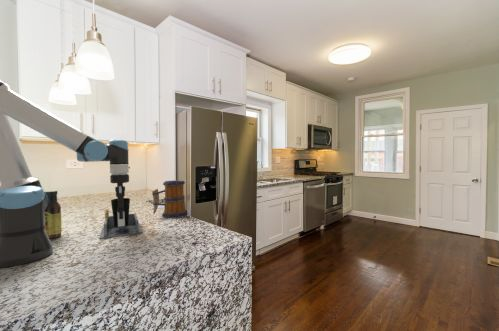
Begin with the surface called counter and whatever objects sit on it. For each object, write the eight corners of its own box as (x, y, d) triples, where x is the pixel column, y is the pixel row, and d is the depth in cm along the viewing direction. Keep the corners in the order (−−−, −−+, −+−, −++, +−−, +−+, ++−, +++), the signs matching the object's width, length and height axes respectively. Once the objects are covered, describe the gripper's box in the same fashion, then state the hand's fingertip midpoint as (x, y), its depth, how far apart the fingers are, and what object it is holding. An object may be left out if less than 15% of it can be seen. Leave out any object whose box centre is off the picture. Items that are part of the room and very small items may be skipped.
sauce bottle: (41, 237, 102) (40, 191, 102) (60, 233, 106) (58, 189, 106) (44, 240, 97) (42, 192, 97) (63, 236, 102) (61, 190, 102)
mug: (155, 221, 126) (153, 183, 125) (150, 216, 138) (149, 181, 138) (191, 216, 136) (190, 181, 135) (184, 211, 148) (183, 179, 148)
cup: (115, 228, 104) (114, 201, 103) (109, 225, 109) (108, 199, 109) (133, 225, 109) (132, 198, 109) (127, 222, 114) (126, 197, 114)
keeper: (142, 232, 105) (141, 212, 105) (99, 239, 97) (98, 217, 97) (139, 223, 121) (138, 206, 121) (102, 228, 113) (101, 209, 113)
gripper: (129, 174, 101) (131, 227, 102) (128, 173, 119) (129, 218, 120) (109, 175, 98) (111, 230, 98) (110, 173, 116) (112, 220, 116)
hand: (121, 223), depth 109 cm, fingers closed on cup, 8 cm apart
